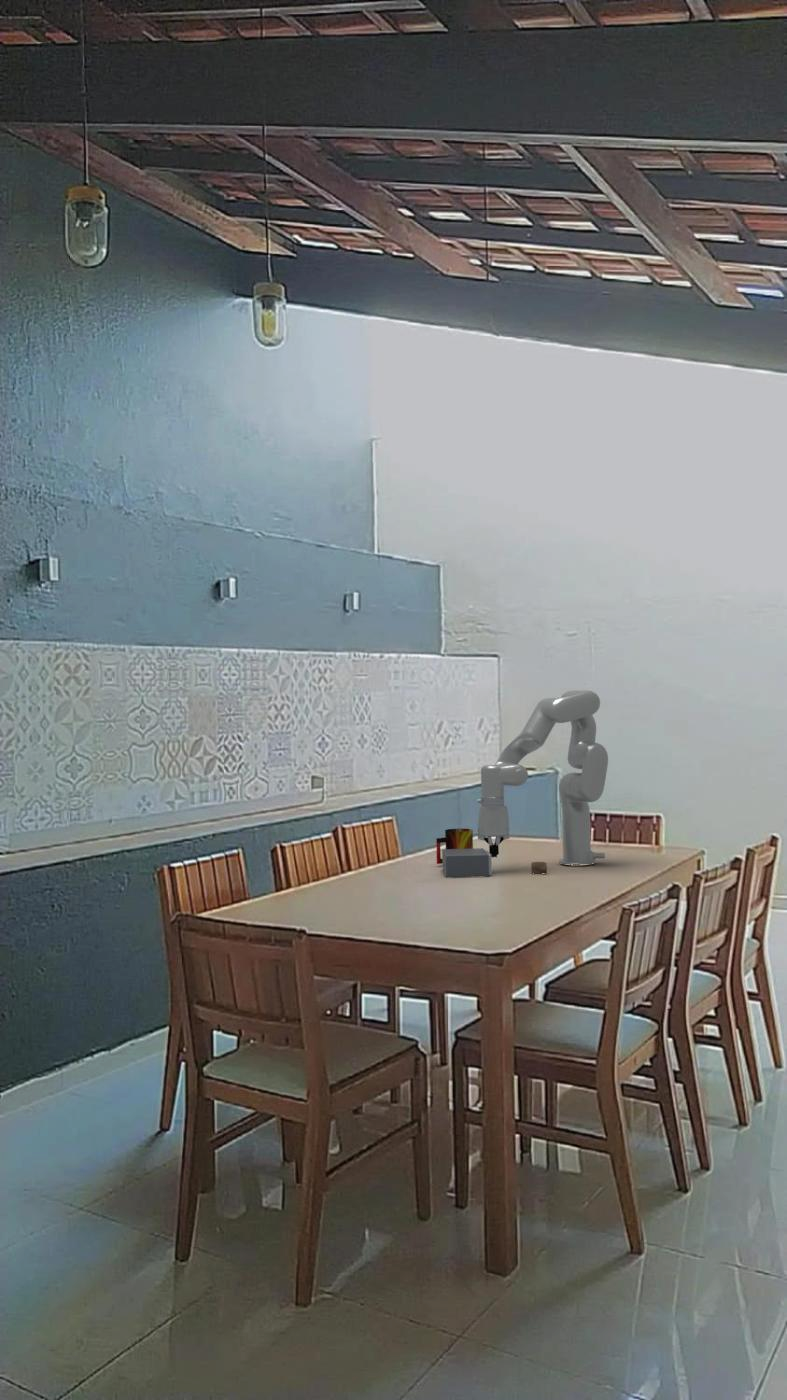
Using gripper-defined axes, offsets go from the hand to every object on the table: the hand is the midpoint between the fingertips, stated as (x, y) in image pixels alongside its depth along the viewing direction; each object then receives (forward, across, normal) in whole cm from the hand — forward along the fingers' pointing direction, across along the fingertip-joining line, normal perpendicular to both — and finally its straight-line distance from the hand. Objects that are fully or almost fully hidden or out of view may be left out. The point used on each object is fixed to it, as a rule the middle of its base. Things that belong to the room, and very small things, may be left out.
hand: (494, 856), depth 388 cm
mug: (+6, -11, +19) cm, 23 cm away
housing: (+5, -10, 0) cm, 11 cm away
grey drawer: (+5, -8, 0) cm, 10 cm away
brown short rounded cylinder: (+5, +14, -5) cm, 16 cm away
